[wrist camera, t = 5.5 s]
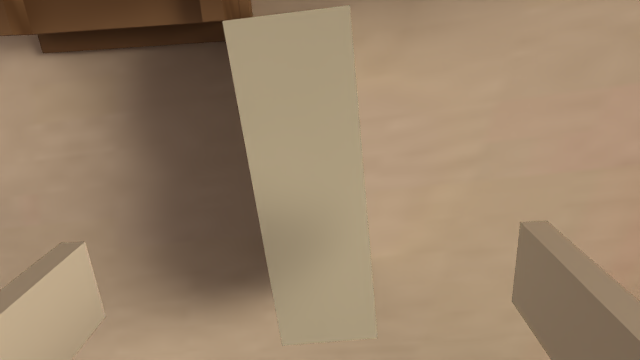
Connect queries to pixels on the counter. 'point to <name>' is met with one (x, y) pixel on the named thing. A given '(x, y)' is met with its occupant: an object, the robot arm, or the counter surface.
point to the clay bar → (307, 169)
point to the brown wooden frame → (119, 22)
